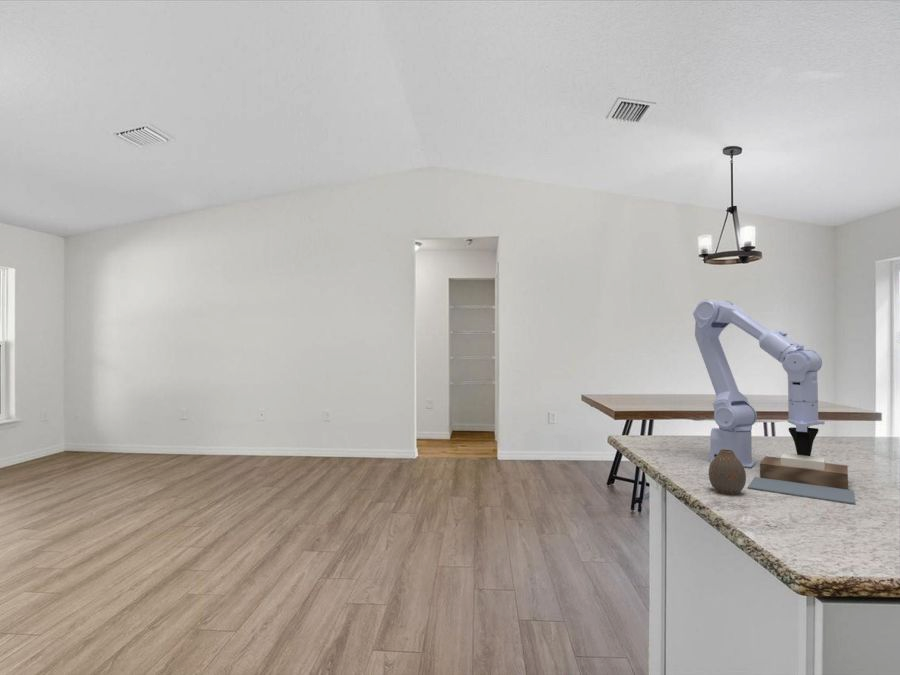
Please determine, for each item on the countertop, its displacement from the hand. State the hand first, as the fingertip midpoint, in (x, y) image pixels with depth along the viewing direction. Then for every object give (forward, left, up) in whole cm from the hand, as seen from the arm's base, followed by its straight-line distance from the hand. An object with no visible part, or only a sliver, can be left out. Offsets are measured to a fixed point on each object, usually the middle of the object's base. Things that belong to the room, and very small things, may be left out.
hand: (804, 458), depth 116 cm
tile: (0, -4, -1) cm, 4 cm away
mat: (0, -14, -4) cm, 14 cm away
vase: (-12, -25, -5) cm, 28 cm away
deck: (0, -3, -4) cm, 5 cm away
